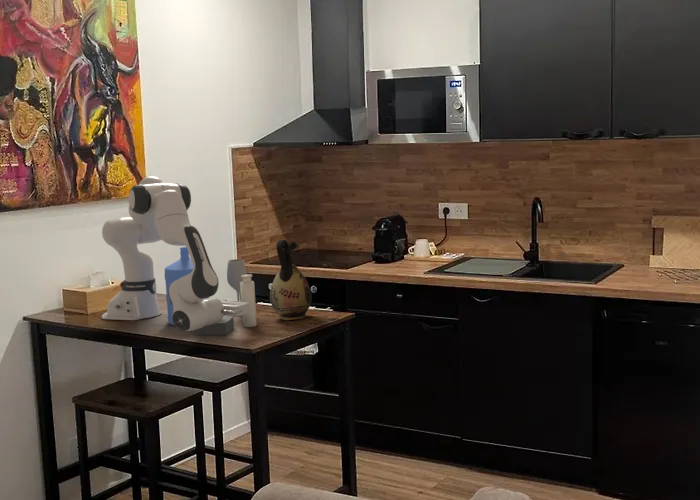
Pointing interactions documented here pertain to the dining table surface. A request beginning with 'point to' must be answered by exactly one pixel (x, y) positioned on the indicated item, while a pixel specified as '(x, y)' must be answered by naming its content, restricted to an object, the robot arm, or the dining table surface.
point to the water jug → (177, 276)
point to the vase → (248, 300)
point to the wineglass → (236, 274)
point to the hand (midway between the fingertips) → (236, 302)
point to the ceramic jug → (289, 286)
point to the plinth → (217, 327)
